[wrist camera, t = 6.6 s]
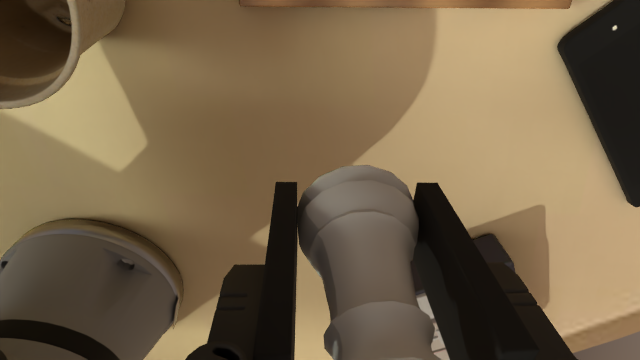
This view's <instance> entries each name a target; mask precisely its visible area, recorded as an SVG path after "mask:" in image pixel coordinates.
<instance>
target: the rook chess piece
mask: <svg viewBox="0 0 640 360" xmlns="http://www.w3.org/2000/svg"><path fill="white" fill-rule="evenodd" d="M297 225H298V226H297V227H298V236H299V245H300V247H301V250H302V252H303V253H304V255H305V256H306V258H307V259H308V260H309V262H310V263H311V265H312V266H313V267H314V269H315V270H316V272H317V273H318V275H319V276H320V277H321V278H322V280H323V284H324V289H325V293H326V297H327V302H328V306H329V310H330V318H331V323H330V325H329V327H328V328H327V330H326V332H325V334H324V346H325V349H326V351H327V352H328V353H329V354H330V356H331V357H332V358H333V359H334V360H442V359H440V358H439V357H438V356H436V355H435V354H434V353H433V352H432V348H431V344H432V342H433V337H434V332H435V327H434V325H433V323H432V320H431V318H430V316H429V315H428V314H426V313H425V312H423V311H422V310H420V307H419V304H418V301H417V298H416V294H415V288H414V282H413V276H412V269H411V263H410V262H411V260H412V259H413V255H414V248H415V246H416V244H417V238H418V230H419V218H418V215H417V213H416V210H415V208H414V202H413V199H412V197H411V194H410V192H409V189H408V187H407V185H405V184H404V183H403V182H402V181H401V180H400V179H398V178H397V177H396V176H395V175H394V174H393V173H391V172H389V171H386V170H383V169H379V168H376V167H373V166H370V165H360V166H343V167H340V168H338V169H336V170H333V171H331V172H329V173H326V174H324V175H322V176H320V177H319V178H317V179H316V180H315V181H314V182H313V183H312V184H311V185H310V186H309V187H308V188H307V189H306V190H305V191H304V192H303V194H302V197H301V199H300V202H299V205H298V207H297Z"/></svg>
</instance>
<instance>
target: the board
mask: <svg viewBox="0 0 640 360" xmlns="http://www.w3.org/2000/svg"><path fill="white" fill-rule="evenodd" d="M571 2H572V0H239V4H240V6H263V7H402V8H541V9H568V8H570V5H571Z"/></svg>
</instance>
